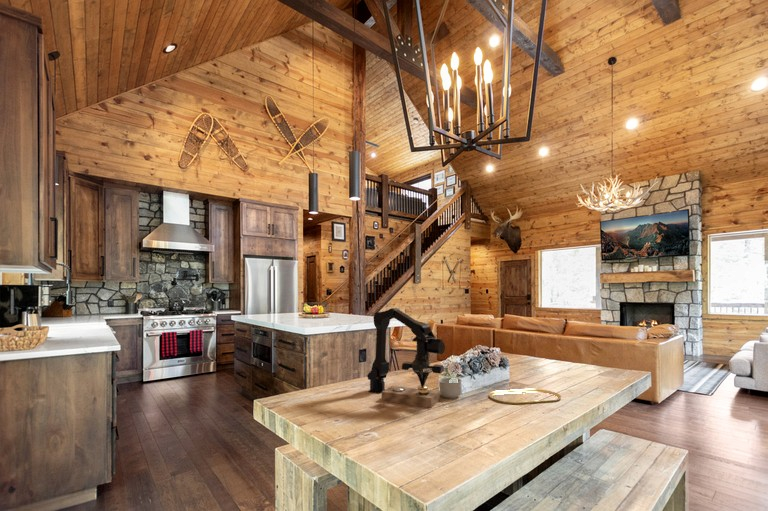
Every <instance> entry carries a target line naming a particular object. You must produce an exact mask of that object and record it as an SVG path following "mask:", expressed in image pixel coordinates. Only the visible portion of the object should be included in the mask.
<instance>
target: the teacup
mask: <svg viewBox="0 0 768 511" xmlns="http://www.w3.org/2000/svg"><path fill="white" fill-rule="evenodd" d="M451 378H452V376H451V377H450V376H449V377H447V376H443V377H442V378H440V379H439V380H438V384H439V385H438V386H439V392H440V394H441V395H442V397H444V398H446V399H456V398H458V397H459V396H460V395H461V394H462V390H463V386H462V379H461V378H459V377H456V378H457V379H458V383H449V380H450V379H451Z"/></svg>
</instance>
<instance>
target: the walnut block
mask: <svg viewBox="0 0 768 511" xmlns="http://www.w3.org/2000/svg"><path fill="white" fill-rule="evenodd" d="M397 387H400V388H404V391H403V392H396V391H394V388H397ZM440 394H441V393H440V391H439V390H438V391H436V390H429V389H427V395H419V389H418V388H415V387H414V388H413V387H405V386H398V385H397V386H396V385H391V386H390V387H387V388H386V389H385V390H384V391H382V392H381V401H382V402H388V403H396V404H403V405H408V406H409V405H410V406H417V407H422V406H423V408H428V407H429V408H428V409H431V408H433V407H434V406H436V404H438V403H439V402H440V401H441V400H440V397H441V396H440Z"/></svg>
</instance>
